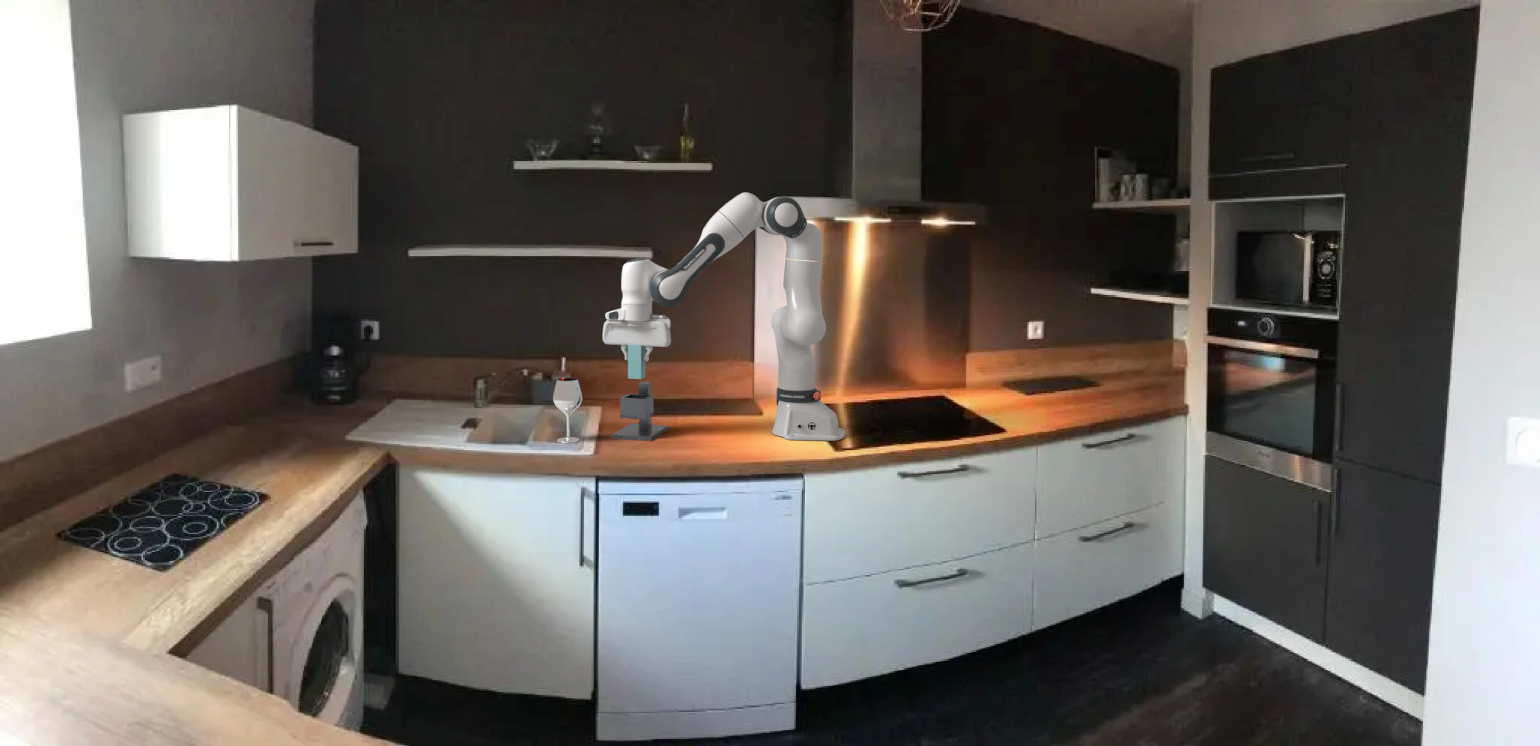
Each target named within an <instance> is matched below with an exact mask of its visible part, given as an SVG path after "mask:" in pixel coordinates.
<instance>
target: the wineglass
mask: <svg viewBox="0 0 1540 746" xmlns="http://www.w3.org/2000/svg"><path fill="white" fill-rule="evenodd" d="M555 383H556V384H555V386H554V390H553V397H552V400H553V404H554V405H555V406H556V408H557V409H559V411H561V413H563V414H564V415H565V416H566V436H565V437H560V438H557V440H556V441H557V442H558V443H562V444H573V443H577V442H580V438H579V437H576V436H575V437H574V436H571V431H570V425H571V424H570V423H571V422H570V421H571V420H570V419H571V418H570V417H571V415H572V414H573V413H574V411H576V410H577V409H578V408H579V407H580V405H581V404H582V402H583V394H582V390H581V387H580V383H579V379H578V378H575V377H562V378H557V379H556V382H555Z"/></svg>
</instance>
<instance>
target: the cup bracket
mask: <svg viewBox="0 0 1540 746" xmlns="http://www.w3.org/2000/svg"><path fill="white" fill-rule="evenodd" d="M619 401H620V402H619V405H620V406H619V408H620V409H619V410H620V411H619V412H620V413H619V414H620V416H619V417H620V418H619V419H626V420H627V419H630V420H631V419H632V420H638V423H635V422H634V423H633V422H631V423H629V424H627V425H626V426H624V427H622V428H621V429H619V430H617V431H615V432H614V433H612V434H611V439H613V440H614V439H617V440H628V441H629V440H630V441H631V440H632V441H645V442H651V441H653V440H654V439H656V438H658V437H659V436H661V435H662V434H663V433H665V432H667V431H668V430H669V425H665V424H664V425H662V424H652V419H653V418H652V416H654V410H655V409H654V405H655V404H654V394H652V382H651V381H650V382H649V381H641V382H639V383H638V393H628V394H626V395H624V396H622V397H619Z"/></svg>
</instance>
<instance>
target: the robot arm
mask: <svg viewBox="0 0 1540 746" xmlns="http://www.w3.org/2000/svg"><path fill="white" fill-rule="evenodd" d="M757 228H759V229H761V230H763V231H764V232H765V233H767V234H770V235H773V236H782V237H783V239H784V241H785V245H786V246H785V247H786V251H785V259H784V260H785V263H784V270H783V271H784V272H783V285H782V286H783V289H784V292H785V298H786V299H785V300H786V305H784V306H781V307H780V308H778V309H776V310H775V311H774V312H773V314H772V316H771V321H770V323H771V327H772V329H773V333H774V339H775V347H776V353H777V358H778V379H777V380H778V387H776V391H775V392H776V393H775V394H776V395H775V402H776V414H775V419H774V424H773V427H772V430H771V433H772V434H773V435H775V436H777V437H778V436H779V437H782V438H784V439H785V440H790V441H791V440H792V441H830V442H831V441H833V442H834V441H840V440H842V439H844V438H845V436H846V430H845V429H844V428H841V427H839V425H840V424H839V420H838V415H837V413H836V412H834V411H833V410H832V408H830V407H828V405H826V404H825V403H824V402H822V401H821V397H822V394H821V392H822V390H821V389H819V390H818V389H817V388H816V387H815V381H816V380H815V378H816V377H815V376H816V373H815V372H816V370H815V369H816V364H815V362H816V361H815V359H814V357H813V354H812V348H811V345H815V344H817V343H819V342H820V341H822V340H823V338H824V337H825V334H826V331H827V324H826V321H825V319H824V316H823V306H822V298H821V276H822V268H823V267H822V266H823V249H824V247H823V245H824V244H823V235H822V230H821V229H820V228H819V227H818V226H817V225H815V224H814V223H809V222H808V221H807V218H806V217H805V214H804V211H803V209H802V207H801V205H800V204H799V202H798V201H797V200H795V199H794V198H792V197H789V196H777V197H773V198H772V199H769V200H767V201H762V200H760V198H759V197H757V196H756V195H755V194H753V193H750V192H748V191H747V192H745V191H744V192H741V193H740V194H739V193H738V194H737V195H736V196H734V197H733V198H732V199H731V200H728V202H726V203H725V204H724V205H723V206H722V207H720V208H719V210H717V212H715V213H714V214H713V215H712V217H711V218H709V220H708V222H706V224H705V226H704V227H703V229H702V232H701V235H700V238H699V240H698V241H697V243H696V245H695V246H694V248H692V250H691V251H689V253H687V254H686V255H685V256H684V257H683V259H682V260H681V261H679V262H678V263H677V264H676V265H675V266H674V267H672V268H670V269H668V268H666V267H663V266H660V265H659V264H656V263H655V262H653V261H652V260H650V258H648V257H642V258H633V259H629V260H627V261H626V262H625V263H624V264H623V265H622V270H621V278H620V279H621V283H620V284H621V285H620V286H621V288H620V289H621V293H622V298H621V303H620V304H621V305H620V306H621V307H619V308H616V309H614V310H611V311H607V312H606V313H605V319H606V321H604V323H603V327H602V341H603V343H604V344H605V345H613V346H615V345H617V346H620V349H621V351H622V353H623V354H624V361H628V345H641V346H646V354H645V355H642V358H643V359H642V361H646V362H649V361H650V355H651V352H652V351H653V349H654V348H653V347H656V348H657V347H660V348H667V347H669V346H670V345H671V344H672V337H671V336H672V335H671V325H672V323H671V319H670V318H669V317H668V316H667V315H665V314H660V315H659V314H653V302H655V304H658V305H659V306H661V307H663V308H673V307H676V306H678V305H679V304H681V303H682V302H683V301H684V299H685V297H686V295H687V293H688V290H689V288H690V285H691V284H692V283H693V281H694V280H695V279H697V277H698V276H699V275H700V274H701V273H703V271H705V269H706V268H707V267H708V266H709V265H711V263H713V262H714V261H715V260H716V259H718V258H720V257H722V256H723V255H725V254H727V253H728V252H730V251H731V250H732V249H734V248H735V247H737V246H738V245H739V244H740V243H741V242H742V241H744V239H745V238H746V237H748V235H749V234H750V233H751V232H753V231H754V230H756V229H757Z"/></svg>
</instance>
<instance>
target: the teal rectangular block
mask: <svg viewBox="0 0 1540 746" xmlns="http://www.w3.org/2000/svg"><path fill="white" fill-rule="evenodd" d="M627 351H628V360H627V379H631V380H633V379H635V380H642V379H644V378H646V377H647V376H646V370H647V369H646V367H647V366H646V363H647V361H642V359H643V358H642V355H645V354H646V352H647V350H646V346H641V345H628V348H627Z"/></svg>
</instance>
